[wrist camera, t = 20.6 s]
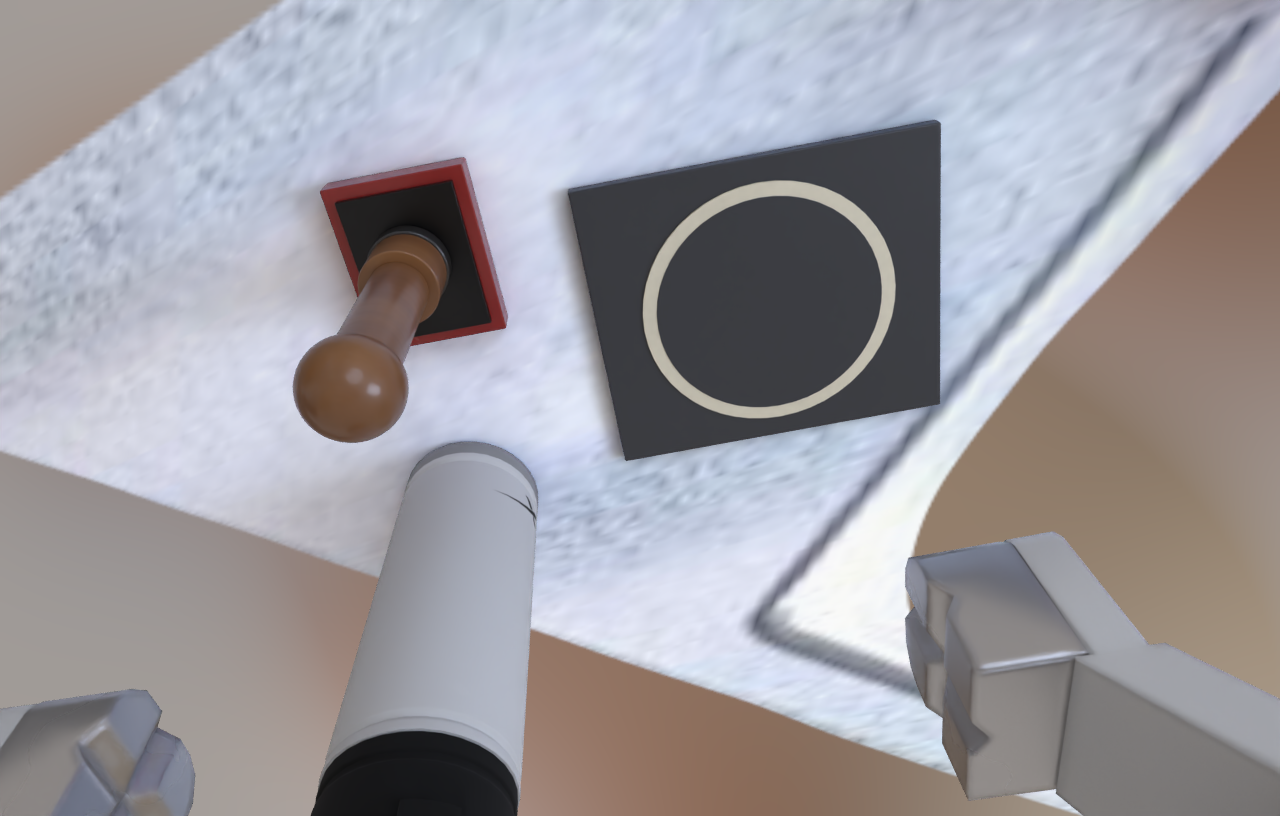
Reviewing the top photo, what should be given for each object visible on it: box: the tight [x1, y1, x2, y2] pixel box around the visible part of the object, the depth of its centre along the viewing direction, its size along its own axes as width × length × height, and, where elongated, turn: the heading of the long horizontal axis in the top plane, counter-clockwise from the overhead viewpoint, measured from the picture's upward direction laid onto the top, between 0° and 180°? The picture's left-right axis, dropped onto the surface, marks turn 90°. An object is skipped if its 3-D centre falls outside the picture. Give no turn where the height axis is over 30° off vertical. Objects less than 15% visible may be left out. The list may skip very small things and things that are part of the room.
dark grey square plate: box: [568, 120, 941, 461], centre depth 38 cm, size 13×15×1 cm
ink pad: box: [320, 157, 508, 346], centre depth 35 cm, size 7×6×2 cm
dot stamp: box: [293, 226, 452, 443], centre depth 29 cm, size 3×3×12 cm
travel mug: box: [311, 442, 538, 816], centre depth 33 cm, size 6×7×20 cm
